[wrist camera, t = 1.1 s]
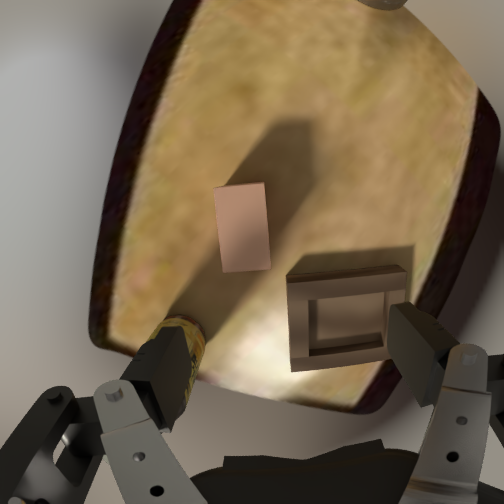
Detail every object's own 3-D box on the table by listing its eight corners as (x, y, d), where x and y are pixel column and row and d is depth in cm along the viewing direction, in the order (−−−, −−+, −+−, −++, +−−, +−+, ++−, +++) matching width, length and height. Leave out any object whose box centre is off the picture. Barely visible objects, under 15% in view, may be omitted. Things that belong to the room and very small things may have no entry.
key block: (224, 185, 30) (213, 188, 23) (264, 181, 30) (264, 183, 23) (231, 252, 32) (222, 272, 25) (269, 249, 32) (271, 269, 25)
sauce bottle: (198, 363, 36) (155, 495, 16) (153, 343, 35) (82, 462, 16) (216, 322, 34) (172, 461, 15) (166, 300, 34) (81, 419, 14)
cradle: (285, 275, 32) (287, 283, 30) (397, 265, 31) (406, 271, 29) (290, 360, 35) (291, 372, 32) (390, 347, 34) (396, 357, 32)
